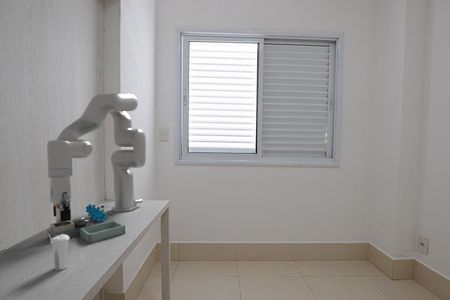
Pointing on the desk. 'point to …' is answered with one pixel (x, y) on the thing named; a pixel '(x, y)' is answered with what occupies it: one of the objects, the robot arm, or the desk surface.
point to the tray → (102, 231)
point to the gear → (95, 213)
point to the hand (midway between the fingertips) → (62, 218)
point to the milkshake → (60, 251)
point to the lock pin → (59, 216)
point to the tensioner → (69, 228)
